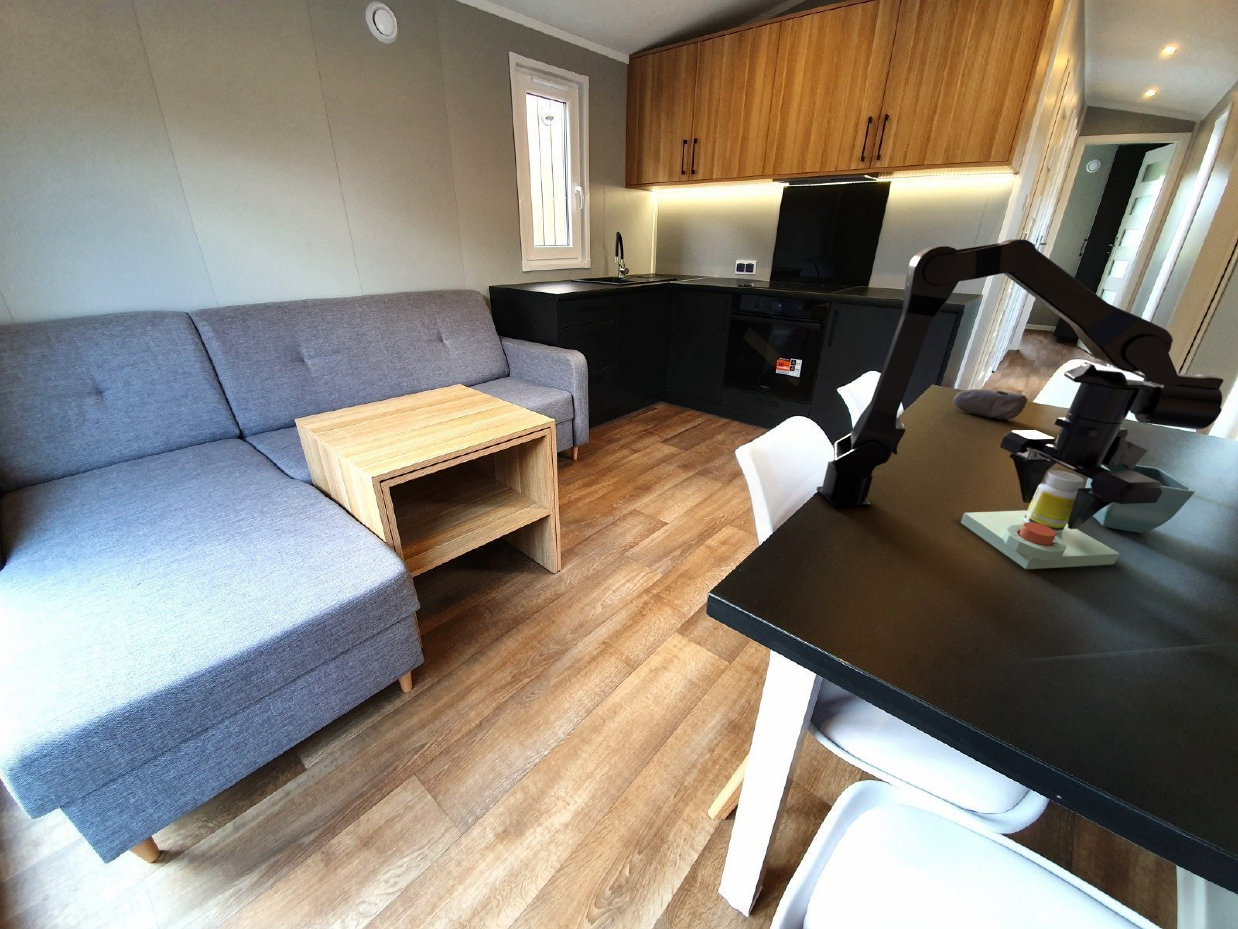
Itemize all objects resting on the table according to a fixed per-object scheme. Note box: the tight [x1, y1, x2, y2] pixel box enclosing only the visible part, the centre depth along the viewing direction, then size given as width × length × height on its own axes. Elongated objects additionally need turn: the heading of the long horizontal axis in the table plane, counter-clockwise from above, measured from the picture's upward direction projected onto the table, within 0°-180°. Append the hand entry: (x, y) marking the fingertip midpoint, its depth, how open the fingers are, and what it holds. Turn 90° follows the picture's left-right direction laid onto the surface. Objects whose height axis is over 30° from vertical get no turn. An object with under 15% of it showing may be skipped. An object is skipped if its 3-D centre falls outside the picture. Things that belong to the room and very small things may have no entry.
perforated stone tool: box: [953, 388, 1029, 421], centre depth 126 cm, size 15×5×7 cm, turn 45°
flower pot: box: [1085, 463, 1196, 534], centre depth 77 cm, size 9×9×9 cm
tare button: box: [1019, 522, 1056, 546], centre depth 68 cm, size 4×4×2 cm
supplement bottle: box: [1024, 469, 1084, 533], centre depth 72 cm, size 5×5×8 cm
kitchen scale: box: [960, 509, 1121, 570], centre depth 72 cm, size 15×13×4 cm
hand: (1048, 514), depth 73 cm, fingers open, 7 cm apart
